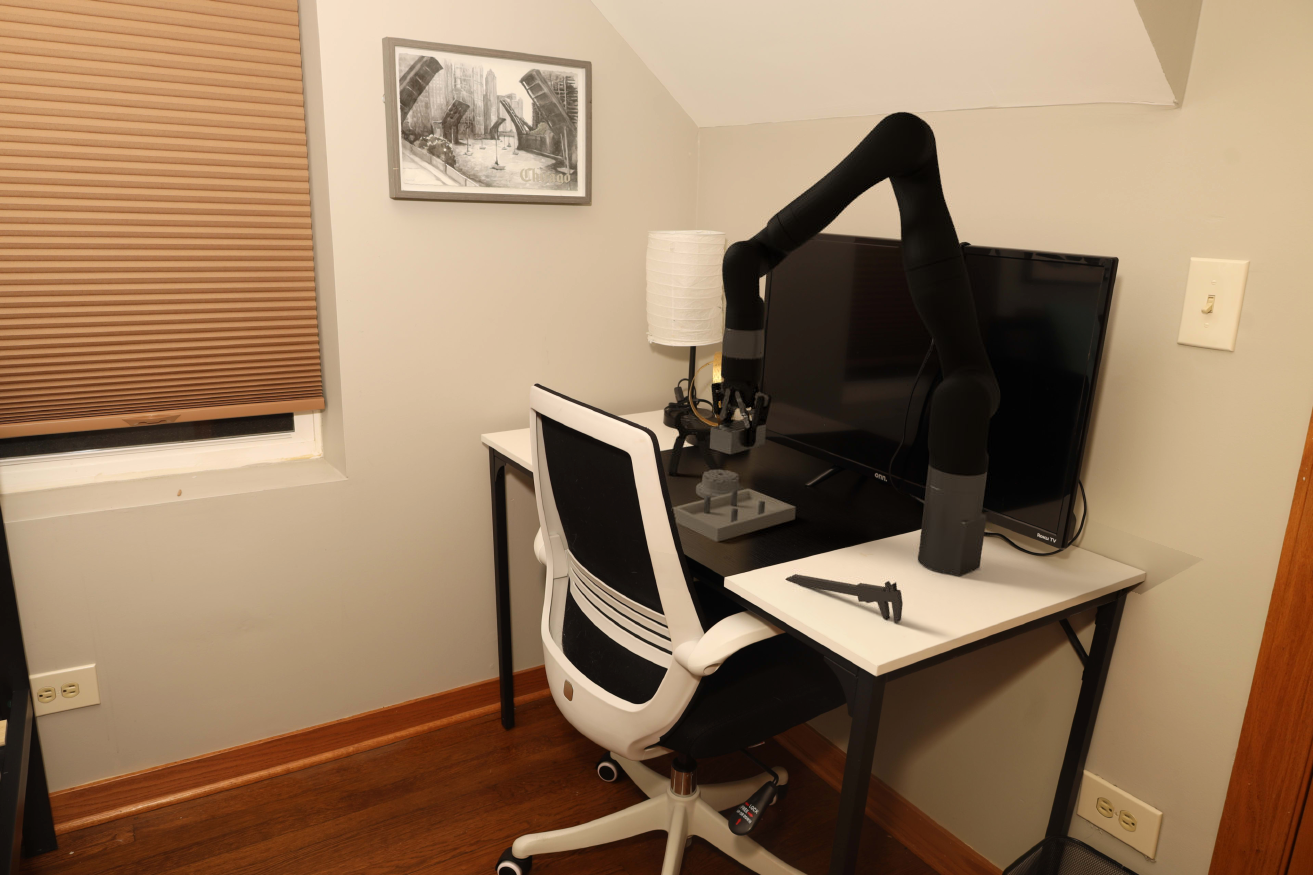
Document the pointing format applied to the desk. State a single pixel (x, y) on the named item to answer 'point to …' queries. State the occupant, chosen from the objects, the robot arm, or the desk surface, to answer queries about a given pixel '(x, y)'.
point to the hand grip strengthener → (680, 442)
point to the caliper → (859, 593)
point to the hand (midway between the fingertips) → (737, 442)
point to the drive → (733, 437)
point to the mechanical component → (718, 483)
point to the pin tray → (733, 514)
